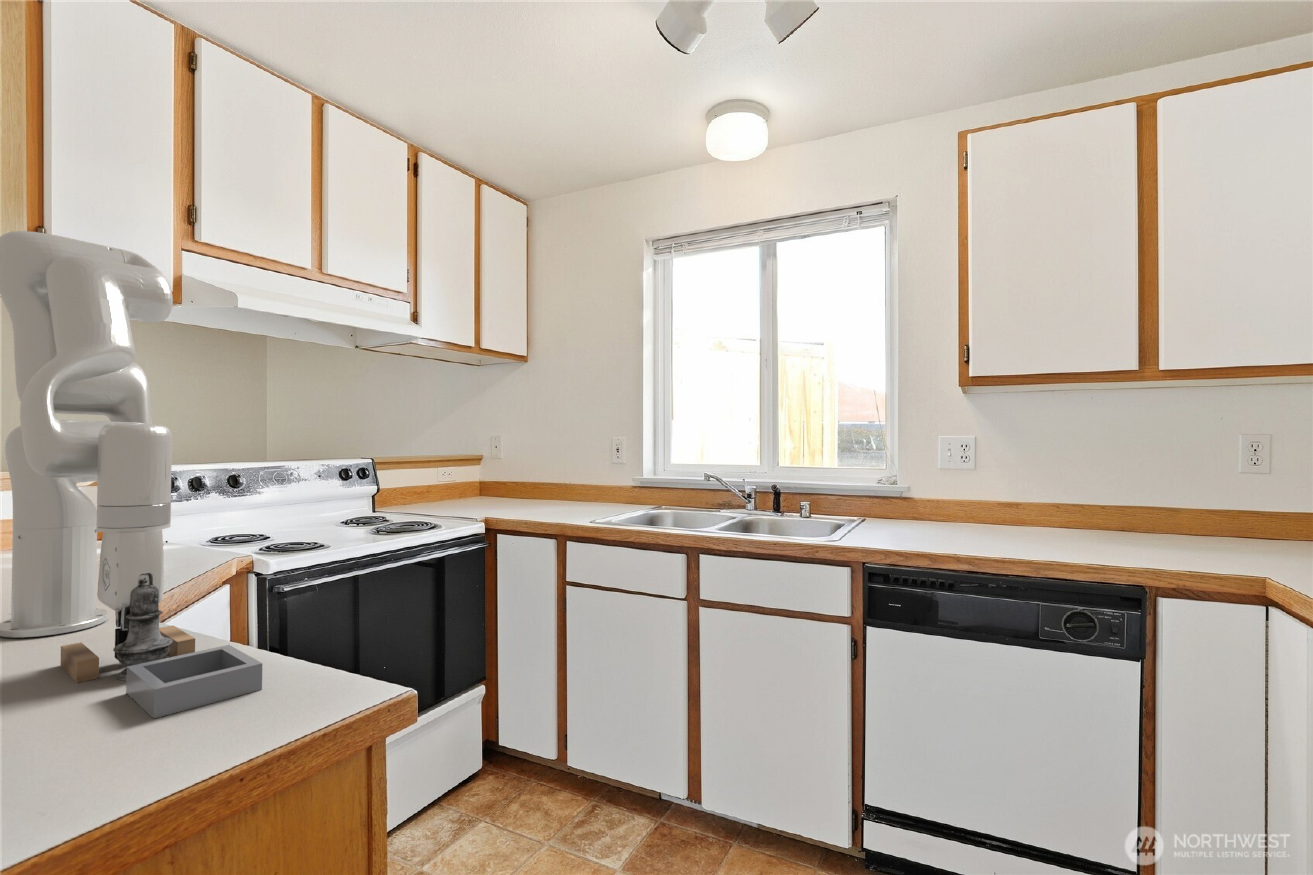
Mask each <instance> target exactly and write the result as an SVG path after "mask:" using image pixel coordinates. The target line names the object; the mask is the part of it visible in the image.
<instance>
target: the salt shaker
mask: <svg viewBox="0 0 1313 875" xmlns="http://www.w3.org/2000/svg"><path fill="white" fill-rule="evenodd" d="M147 581H149V580H147V579H146V578H144V579H143V581H142V582H143V584H141V585H140V586H138V587H136V588H135V589H133V590H132V592H131V599H130V614H128V615H127V616H126V618H128V619H129V633H128V636H127V639H126V641H125V642H124V643H121V644H119V645H117V646H115V645H114V647H113V649H112V651H113V652H114V653H115V652H116V653H117V659H118V660H117V659H116V660H117V661H118V663H119V664H121V665H122V666H123V667H126V668H124V669H123V670H121V671H120V672H118V673H117V674H116V675H115V679H116V680H119V681H125V682H126V675H127V667H128V666H132V665H137V664H142V663H146V662H151V661H156V660H160V659H165V657H167V655H168V654H167V653H168V651H169V649H170V644H172V642H173V639H171V638H167V637H163V636H161V633H160V630H159V628H160V616H161V615H162V614H163V611H162V610H160V608H159V606H160V605H159V604H160V603H159V589H158V588H157V587H156V586H154V585H150V584H148V583H147Z"/></svg>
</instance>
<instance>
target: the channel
mask: <svg viewBox="0 0 1313 875" xmlns="http://www.w3.org/2000/svg"><path fill="white" fill-rule="evenodd" d="M159 630H160V633H161V636H163V637H167V638H171V639H173V642H172V644H170V649H169V651H168V653H167V655H168V656H169V657H174V656H179V655H184V654H188V653H193V652H196V638H195V637H194V636H192V635H191V634H189V633H187V632H185V631H183V630H182V629H180V628H179V627H177V626H175V625H170V626H163V627H159ZM60 667H61V668H62V669H63V670H64V671H65V672H66V673H67V674H68V675H69V676H70V677H71V678H72V679H73V680H74V682H76V683H81V682H87V681H91V680H96V679H99V675H100V674H99V672H100V657H99V656H98V655H97V654H95V653H94V652H93V650H91V649H90V648H88V647H87V646H86V645H85V644H84V643H83V642H75V643H71V644H65V645H64V644H63V645H60Z"/></svg>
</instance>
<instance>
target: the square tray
mask: <svg viewBox="0 0 1313 875" xmlns="http://www.w3.org/2000/svg"><path fill="white" fill-rule="evenodd" d="M126 668H127V675H126V681H125V682H126V684H125V694H126V693H127V694H128V695H129V696H131V697H130V699H132V698H133V699H134V700H135V701H136V702H137V703H138V704H139V705H140V706H139V707H140V708H142V710H144V711H145V712H146V713H147V714H148V715H149V716H150V715H151V716H150V717H151V718H152V719H159V718H161V717H162V716H163V717H166V716H170V715H173V713H174V714H176V712H177V713H180V712H184V711H188V710H191V709H194V708H195V709H196V708H199V707H202V706H206V705H210V704H213V703H217V702H220V701H224V700H228V699H233V698H235V697H238V696H242V695H247V694H250V693H254V692H257V691H261V690H263V662H261V661H259V660H257V659H255V658H254V657H252V656H250V655H248V654H246V653H245V652H243V651H241V650H239V649H238V648H236V647H233V646H232V645H230V644H227V645H223V646H218V647H217V646H216V647H213V648H208V649H207V648H206V649H203V650H197V651H195V652H193V653H188V654H184V655H179V656H174V657H171V656H169V657H166V658H165V657H164V658H163V659H160V660H156V661H151V662H146V663H142V664H137V665H132V666H128V667H126ZM127 694H126V695H127ZM128 695H127V696H128ZM129 696H128V697H129ZM133 699H132V700H133ZM134 700H133V701H134ZM135 701H134V702H135ZM136 702H135V703H136ZM137 703H136V704H137ZM138 704H137V705H138ZM165 715H166V716H165Z"/></svg>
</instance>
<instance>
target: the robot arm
mask: <svg viewBox="0 0 1313 875" xmlns="http://www.w3.org/2000/svg"><path fill="white" fill-rule="evenodd" d="M173 296H174V295H173V292H172V289H171V285H170V282H169V281H168V279H167V278H166V276H165V275H164V274H163V272H162V271H161V270H160V269H159V268H157V267H156V266H155V265H153V264H152V263H151V262H149V261H148V260H147V259H146V258H144V257H143V256H141V255H139V254H138V253H135V252H133V251H130V250H126V249H121V248H116V247H112V246H107V245H102V244H97V243H94V242H93V243H92V242H89V241H84V240H80V239H76V238H75V239H74V238H70V237H65V236H60V235H56V234H50V233H46V232H39V231H26V230H23V231H22V230H15V231H9V232H6V233H3V234H2V235H1V236H0V297H1V300H2V302H3V304H4V306H5V308H6V310H7V312H8V315H9V318H10V321H11V323H12V330H13V332H12V333H13V352H14V354H13V355H14V370H15V371H14V372H15V384H16V391H17V396H18V399H19V402H20V406H19V419H20V425H18V426H17V427H15V428H14V429H12V431H10V433H9V434H8V435H7V437H6V440H5V447H4V448H5V449H4V451H5V460H6V465H7V470H8V473H9V475H8V476H9V479H10V484H11V485H10V486H11V495H12V496H11V498H12V546H11V548H12V549H11V550H12V552H11V553H12V554H11V556H12V558H11V559H12V560H11V598H10V599H11V600H10V601H11V602H10V603H11V605H10V609H11V610H10V611H11V612H10V618H9V619H7V620H3V621H1V622H0V637H3V638H13V639H14V638H18V639H19V638H20V639H22V638H37V637H38V638H39V637H46V636H53V635H61V634H66V633H71V632H77V631H81V630H84V629H89V628H92V627H96V626H98V625H100V624H103V623H104V622H106V621H107V620H108V619H109V611H108V610H106V609H103V608H96V605H97V604H96V603H97V602H96V601H97V599H98V601H99V602H100V603H102V604H103V605H105V606H106V607H108V608H109V609H111V610H113V611H114V612H115V627H116V628H115V630H114V631H115V632H114V633H115V634H114V647H115V646H117V645H119V644H121V643H124V642H125V641H126V639H127V636H128V633H129V619H128V618H126V616H127V615H128V614H130V599H131V592H132V590H133V589H135V588H136V587H138V586H140V585H141V584H143V582H142V581H143V579H144V578H146V579H147V580H149V581H147V583H148V584H150V585H154V586H156V587H157V588H158V589H159V604H161V603H162V601H163V598H164V589H165V587H164V586H165V584H164V583H165V575H164V574H165V562H164V560H165V559H164V557H165V555H164V538H163V537H164V536H163V530H165V529H168V528H171V520H172V517H171V516H172V515H171V514H172V511H171V510H172V504H171V503H172V502H171V500H172V468H173V467H172V465H173V464H172V463H173V462H172V460H173V459H172V458H173V434H172V431H171V429H170V428H168V427H167V426H165V425H163V424H159V423H158V424H156V423H153V416H152V403H151V402H152V401H151V390H150V383H149V380H148V376H147V374H146V373H145V371H144V370H143V368H142V367H141V366H140V365H139V364H137V363H136V362H134V360H135V358H136V348H135V344H134V338H133V334H132V328H131V322H130V321H132V322H142V323H147V324H148V323H149V324H159V323H162V322H164V321H166V320H167V319H168V318H169V316H170V314H172V309H173V305H174V304H173V303H174V300H173V299H174V297H173ZM55 414H59V415H60V414H62V415H63V414H65V415H66V414H67V415H92V416H93V415H95V416H105V417H107V418H108V419H109V421H108V420H107V421H106V420H105V421H104V420H78V419H77V420H75V419H67V420H66V419H65V420H64V419H63V420H62V419H57V417H56V415H55ZM87 482H97V483H96V484H97V486H96V488H97V489H96V490H97V492H96V493H97V494H96V505H95V504H94V503H93V501H92V500H91V499H90V498H89V496H87V495H86V494H85V493H84V492H83V491H82V490H81V489H80V488H79V487H78V486H77V484H80V483H87ZM98 533H102V538H101V543H100V544H101V546H100V552H99V553H100V554H99V556H100V557H99V566H98V568H99V570H98V582H97V556H98V555H97V554H98V553H97V552H98V548H97V547H98V546H97V544H98ZM96 597H97V598H96ZM114 658H115V659H116V660H117V661H118V659H117V653H116V652H114Z"/></svg>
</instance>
